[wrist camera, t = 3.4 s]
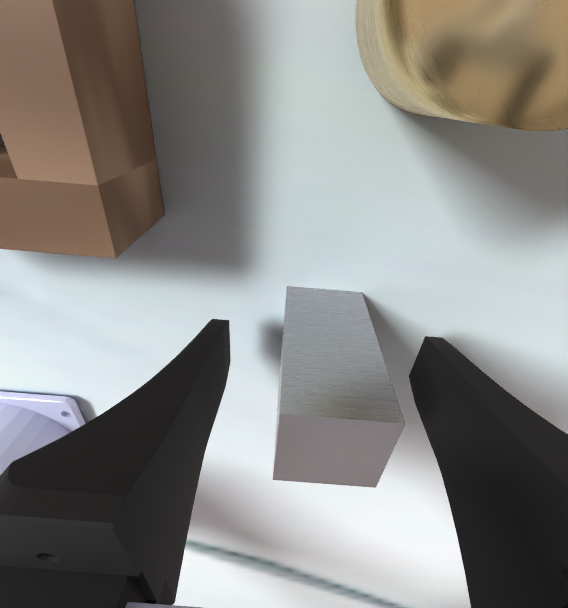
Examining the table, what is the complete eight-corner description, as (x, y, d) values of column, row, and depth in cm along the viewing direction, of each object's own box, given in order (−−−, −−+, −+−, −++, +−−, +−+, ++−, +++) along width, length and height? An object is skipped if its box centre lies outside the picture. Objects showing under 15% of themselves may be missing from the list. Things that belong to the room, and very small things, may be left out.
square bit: (348, 348, 14) (375, 487, 9) (281, 343, 14) (272, 479, 9) (361, 292, 12) (405, 423, 7) (286, 286, 12) (279, 413, 7)
